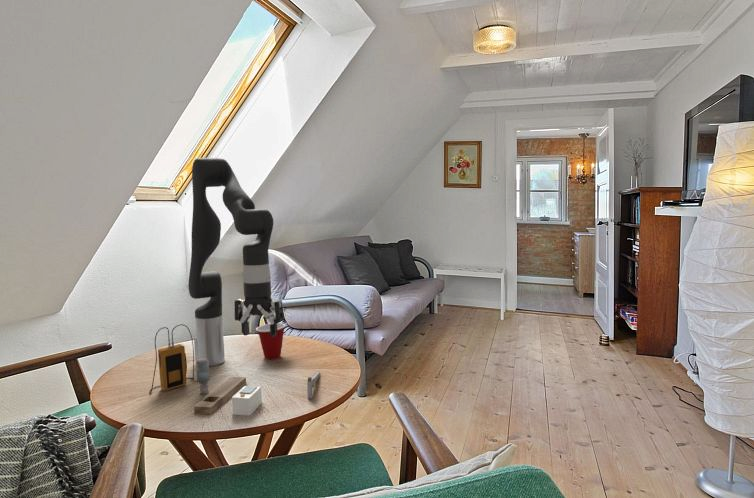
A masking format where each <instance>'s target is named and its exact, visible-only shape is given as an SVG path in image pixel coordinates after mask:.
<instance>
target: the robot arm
mask: <svg viewBox="0 0 754 498" xmlns="http://www.w3.org/2000/svg"><path fill="white" fill-rule="evenodd" d="M191 166H192V168H191V179H192V180H191V181H192V198H193V199H192V218H191V257H190V258H191V259H190V266H189V275H188V285H187V286H188V292H189V293H188V294H189V295H190V297H191V298H192V299H195V300H197V299H198V300H200V299H205V298H207V299H208V298H210V299H208V301H207V302H206V303H204V304H202V305H200V306H197V308H195V310H194V321H195V322H194V323H195V335H196V336H195V337H194V339H193V346H194V364H196V362H197V360H198V359H202V358H206V359H207V360H208V361H209V367H212V366H218V365H220V364H222V363H224V362H226V360H225V359H226V358H225V356H226V355H225V344H224V342H225V341H224V321H223V282H222V277H221V274H220V273H219V272H218V271H217V270H211V271H210V270H209V271H203V269H204V266H205V264H206V262H207V261H208V259H209V258H210V257H211V255H212V254H213V253H215V251H216V250H217V248H218V246H219V244H220V242H221V232H222V231H221V230H222V224H221V220H220V218H219V216H218V215H217V213H216V212H215V210H214V209H213V207H212V206H211V205H210V203H209V201H208V198H207V188H213V187H214V188H217V187H218V188H219V187H224V189H223V191H222V202H223V204H224V206H225V208H226V209H227V210H228V211H229V213H230V214H231V215H232V219H233V223H234V228H235V230H236V232H237V233H238V234H240V235H243V236H250V235H257V236H256V238H255V240H254V241H251V242H248V243H246V244H244V245H243V246H242V262H243V265H242V268H243V269H242V281H243V297H244V299H242V298H238V299H236V300H234V320H235V321H238V322H240V324H241V326H240V327H241V332H242V333H241V334H243V336H248V335H250V321H249V319H250V318H251V317H252V316H259V317H262V316H264V318H265V319H267V321H268V322H269V324H270V337H274V336H276V334H277V333H278V330H277V323H281V322H282V321H284V319H285V317H284V309H283V308H284V307H283V301H282V299H279V300H278V299H277V300H272V284H271V282H272V281H271V280H272V278H271V268H270V259H269V258H270V257H269V247H270V243H271V237H272V234H273V228H274V217H273V214H272V213H271V211H269V210H268V209H265V208H257V209H256V207H255V203H254V201H253V200H252V199H251V197H250V196H249V195H248V194H247V192H245V190H244V189H243V188H242V187H241V185H240V183H239V181H238V177H237V176H236V174H235V171H233V168H232V167H231V165H230V163H229V162H228V161H227V160H226V159H225V158H222V157H196V158H195V159H194V160H193V163H192V165H191ZM243 307H245V308H246V310H245V311H244V308H243ZM272 307H273V308H272ZM272 309H274V311H273V310H272ZM243 311H244V313H243Z"/></svg>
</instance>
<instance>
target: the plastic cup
mask: <svg viewBox="0 0 754 498" xmlns="http://www.w3.org/2000/svg"><path fill="white" fill-rule="evenodd" d="M270 324H271V323H267V324H263V325H260V326H258V327H256V328H255V330H256V332H257V334H258V338H259V340H260V345H261V349H262V352H263V356H264V359H265V360H268V361H269V360H271V361H273V360H276V359H279V358H280V357H281V354H282V348H283V341H284V333H285V327H286V324H285V323H282V322H278V323H277V330H278V333H277V334H276V336H274V337H270Z"/></svg>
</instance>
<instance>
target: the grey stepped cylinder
mask: <svg viewBox="0 0 754 498" xmlns="http://www.w3.org/2000/svg"><path fill="white" fill-rule="evenodd" d="M195 368H196V370H195V371H196V372H195V373H196V382H197V383H198V384H199V395H202V396H203V395H204V396H205V395H209V384H208V383H209V382H210V380H211V379H210V366H209V361H208V360H207V359H206V358H202V359H198V360H197V362H196V363H195Z"/></svg>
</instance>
